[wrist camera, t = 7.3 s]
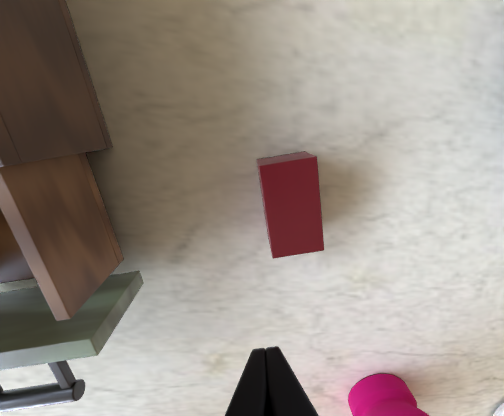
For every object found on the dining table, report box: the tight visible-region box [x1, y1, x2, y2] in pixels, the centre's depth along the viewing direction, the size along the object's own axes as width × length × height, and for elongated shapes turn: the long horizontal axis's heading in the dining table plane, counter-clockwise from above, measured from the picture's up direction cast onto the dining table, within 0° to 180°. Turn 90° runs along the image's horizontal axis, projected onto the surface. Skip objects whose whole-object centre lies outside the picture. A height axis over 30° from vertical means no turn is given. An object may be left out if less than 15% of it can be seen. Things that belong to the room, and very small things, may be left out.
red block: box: [257, 151, 324, 258], centre depth 18 cm, size 6×4×3 cm, turn 9°
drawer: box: [0, 153, 143, 412], centre depth 16 cm, size 17×13×7 cm
